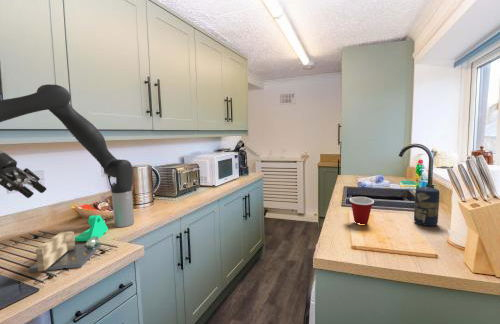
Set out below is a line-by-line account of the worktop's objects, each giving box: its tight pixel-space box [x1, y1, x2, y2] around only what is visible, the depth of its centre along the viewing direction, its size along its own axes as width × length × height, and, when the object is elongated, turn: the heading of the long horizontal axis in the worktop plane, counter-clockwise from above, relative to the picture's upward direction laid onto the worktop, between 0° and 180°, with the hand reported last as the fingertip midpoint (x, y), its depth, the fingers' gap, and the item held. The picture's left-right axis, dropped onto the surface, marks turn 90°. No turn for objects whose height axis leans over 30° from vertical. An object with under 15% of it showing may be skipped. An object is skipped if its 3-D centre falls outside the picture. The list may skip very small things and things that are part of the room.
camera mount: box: [74, 214, 109, 242], centre depth 119 cm, size 12×8×10 cm, turn 177°
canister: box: [413, 186, 440, 227], centre depth 125 cm, size 10×10×18 cm
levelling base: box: [28, 236, 102, 273], centre depth 100 cm, size 18×16×4 cm
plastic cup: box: [349, 196, 375, 225], centre depth 128 cm, size 11×11×12 cm
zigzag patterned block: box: [35, 231, 76, 272], centre depth 96 cm, size 20×5×8 cm, turn 10°
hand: (38, 193), depth 90 cm, fingers open, 6 cm apart
